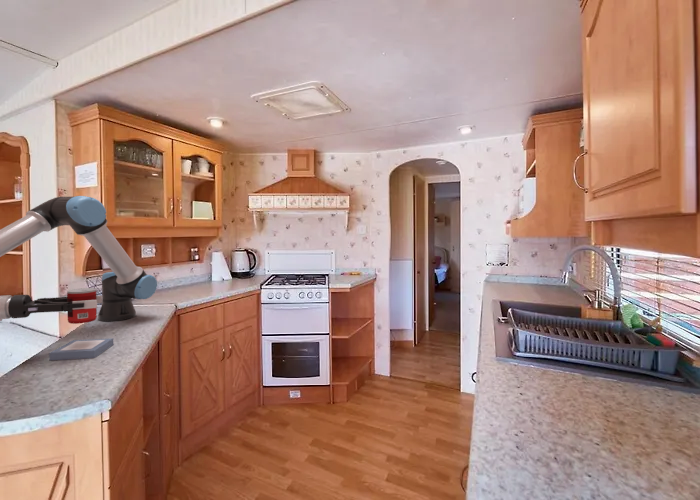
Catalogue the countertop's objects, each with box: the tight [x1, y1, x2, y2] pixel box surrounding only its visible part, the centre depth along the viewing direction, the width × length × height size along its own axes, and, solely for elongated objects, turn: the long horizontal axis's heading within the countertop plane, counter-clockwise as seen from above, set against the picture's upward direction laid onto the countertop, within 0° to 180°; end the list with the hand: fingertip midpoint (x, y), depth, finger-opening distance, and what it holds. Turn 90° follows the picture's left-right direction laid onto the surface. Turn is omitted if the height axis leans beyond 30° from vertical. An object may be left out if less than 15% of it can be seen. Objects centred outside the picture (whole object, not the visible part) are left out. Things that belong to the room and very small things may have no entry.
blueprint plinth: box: [48, 337, 114, 361], centre depth 114 cm, size 13×13×3 cm
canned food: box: [66, 287, 98, 325], centre depth 113 cm, size 8×8×11 cm
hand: (99, 301), depth 116 cm, fingers closed on canned food, 8 cm apart
